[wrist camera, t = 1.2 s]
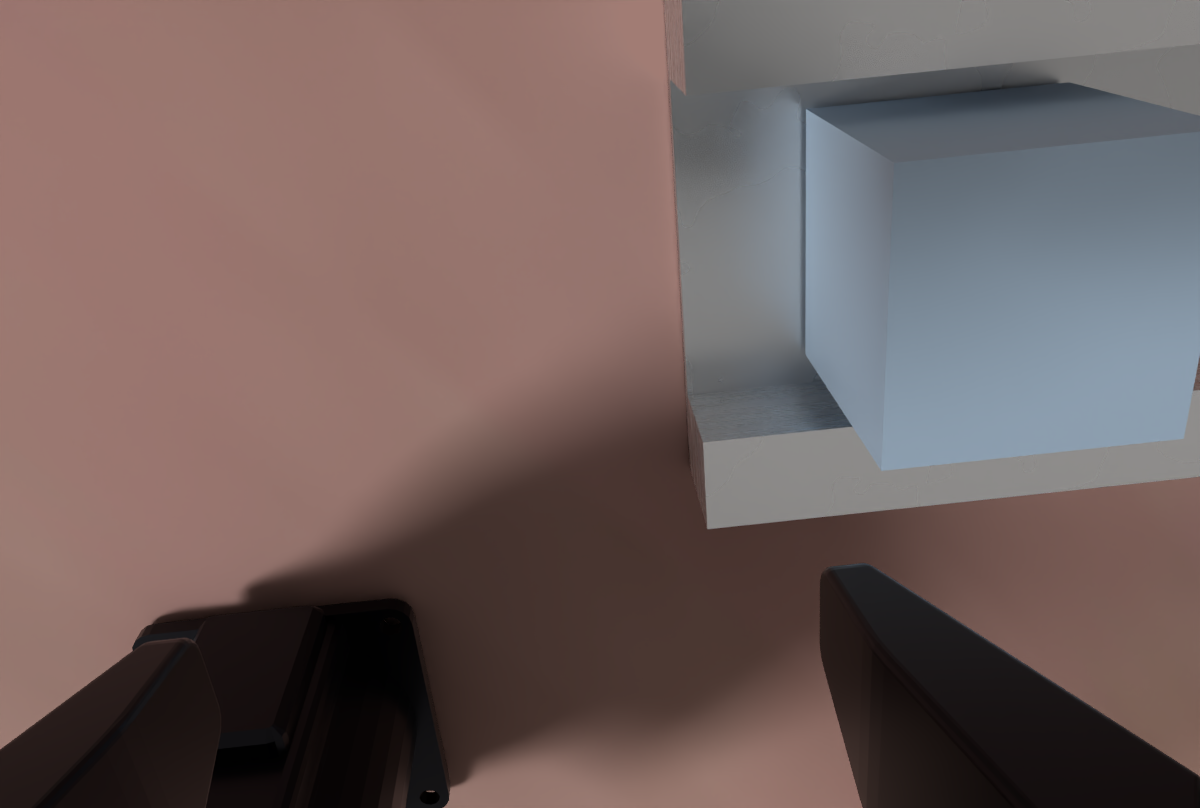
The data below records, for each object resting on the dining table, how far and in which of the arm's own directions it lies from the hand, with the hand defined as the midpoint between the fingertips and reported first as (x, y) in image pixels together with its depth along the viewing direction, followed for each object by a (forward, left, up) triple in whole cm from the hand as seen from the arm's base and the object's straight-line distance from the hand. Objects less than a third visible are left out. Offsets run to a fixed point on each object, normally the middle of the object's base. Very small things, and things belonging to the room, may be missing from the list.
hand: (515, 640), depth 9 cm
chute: (0, -9, -12) cm, 15 cm away
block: (0, -8, -12) cm, 14 cm away
